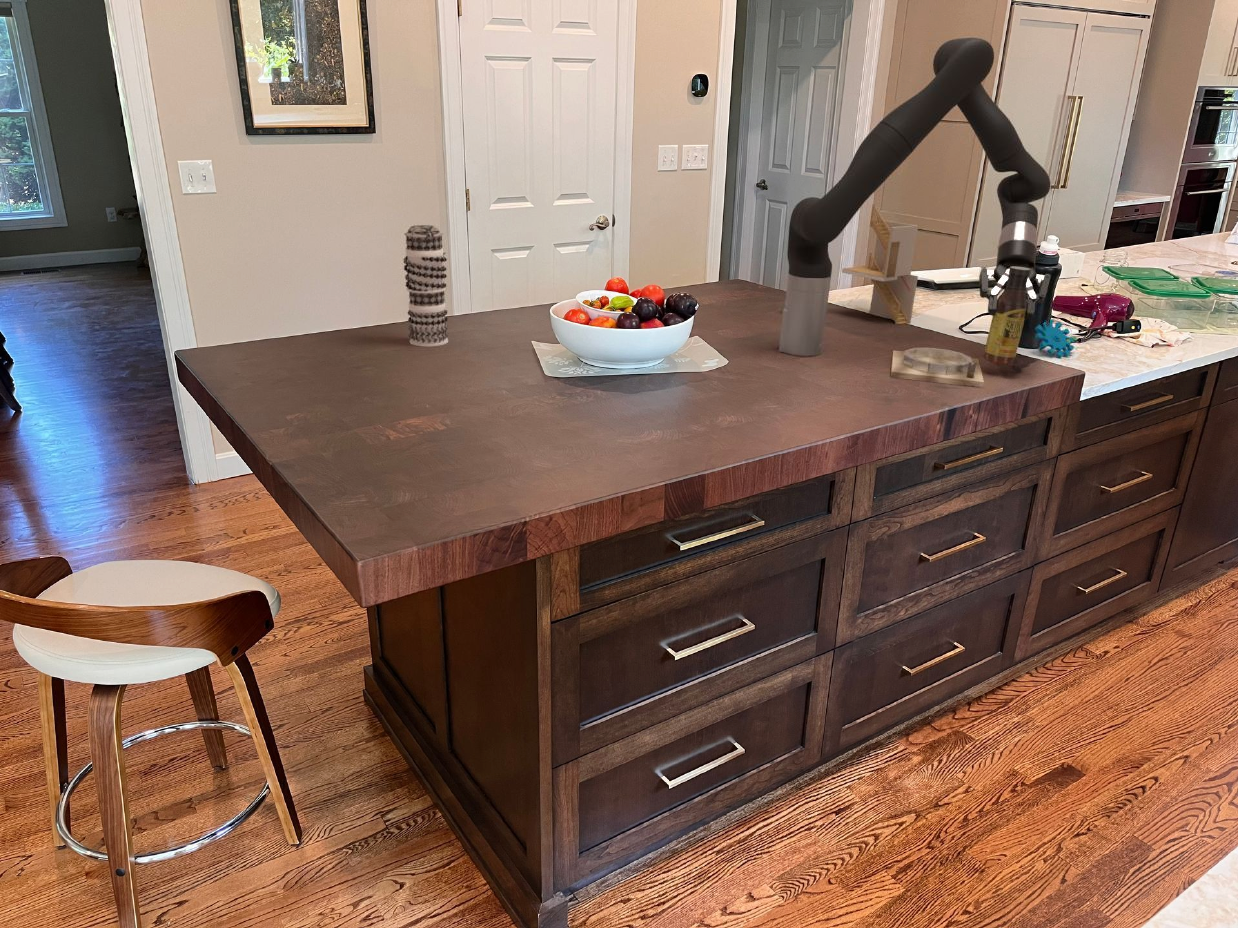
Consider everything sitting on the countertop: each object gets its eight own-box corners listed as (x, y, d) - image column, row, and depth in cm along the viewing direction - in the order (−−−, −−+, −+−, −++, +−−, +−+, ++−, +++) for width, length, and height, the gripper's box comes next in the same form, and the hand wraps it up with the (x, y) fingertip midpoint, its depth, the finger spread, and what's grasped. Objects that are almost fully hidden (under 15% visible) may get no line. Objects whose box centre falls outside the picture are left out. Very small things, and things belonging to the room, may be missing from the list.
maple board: (890, 377, 184) (891, 371, 183) (892, 355, 200) (893, 350, 199) (982, 387, 179) (983, 382, 179) (977, 364, 195) (978, 359, 195)
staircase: (885, 329, 225) (903, 211, 213) (836, 316, 237) (850, 204, 226) (910, 325, 230) (929, 209, 219) (860, 312, 242) (876, 202, 231)
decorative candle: (455, 337, 201) (450, 224, 192) (443, 348, 193) (438, 230, 183) (415, 335, 202) (409, 222, 192) (402, 345, 193) (395, 228, 184)
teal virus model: (1044, 352, 201) (1034, 314, 204) (1026, 365, 206) (1017, 328, 210) (1084, 357, 203) (1074, 320, 207) (1066, 370, 209) (1056, 333, 213)
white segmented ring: (902, 370, 184) (904, 356, 183) (903, 353, 197) (905, 340, 196) (973, 378, 181) (976, 364, 180) (970, 361, 193) (972, 347, 192)
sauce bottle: (999, 367, 185) (1020, 271, 177) (976, 359, 190) (995, 265, 182) (1021, 364, 188) (1042, 269, 180) (997, 356, 193) (1017, 264, 185)
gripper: (984, 235, 188) (977, 301, 182) (1058, 241, 184) (1052, 309, 178) (978, 256, 195) (970, 321, 189) (1048, 263, 191) (1043, 329, 185)
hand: (1010, 315), depth 183 cm, fingers closed on sauce bottle, 6 cm apart
